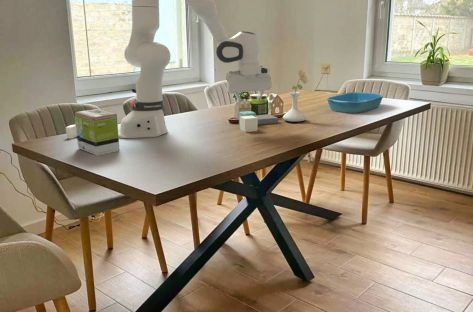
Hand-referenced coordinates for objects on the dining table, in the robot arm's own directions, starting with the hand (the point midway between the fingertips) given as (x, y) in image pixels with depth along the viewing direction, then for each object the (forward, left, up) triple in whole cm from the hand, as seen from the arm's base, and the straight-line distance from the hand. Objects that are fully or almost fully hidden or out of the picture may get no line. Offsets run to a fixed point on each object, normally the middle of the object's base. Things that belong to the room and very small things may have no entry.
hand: (249, 101), depth 214 cm
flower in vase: (+29, +10, -13) cm, 33 cm away
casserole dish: (+75, +27, -13) cm, 80 cm away
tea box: (-66, -9, -13) cm, 68 cm away
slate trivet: (+14, +14, -13) cm, 23 cm away
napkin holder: (-73, +21, -14) cm, 77 cm away
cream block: (0, 0, -13) cm, 13 cm away
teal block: (+4, +11, -13) cm, 17 cm away
